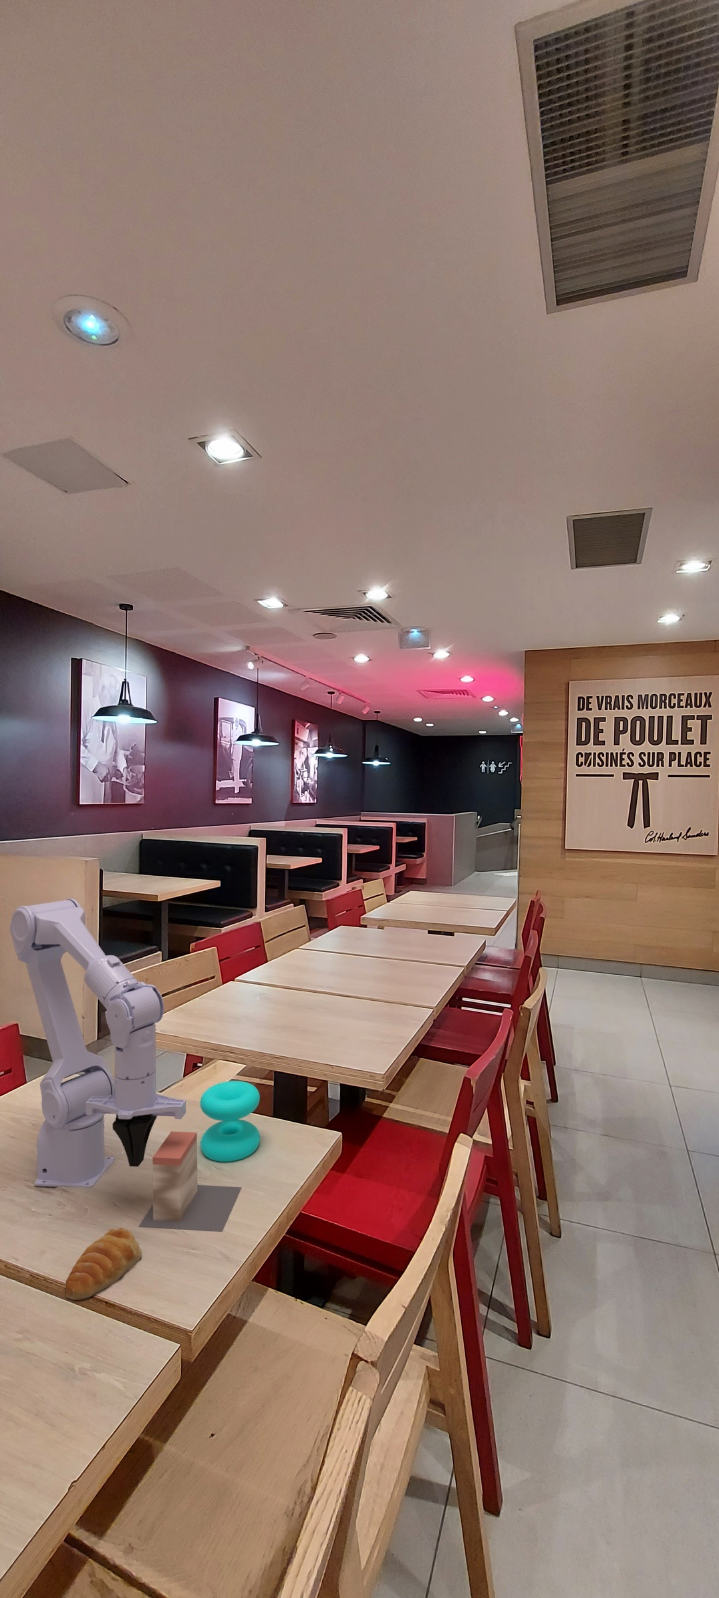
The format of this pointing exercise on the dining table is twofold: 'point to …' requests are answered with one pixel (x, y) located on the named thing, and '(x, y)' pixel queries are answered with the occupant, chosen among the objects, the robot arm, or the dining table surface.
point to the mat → (201, 1210)
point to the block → (174, 1176)
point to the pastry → (103, 1264)
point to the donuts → (230, 1121)
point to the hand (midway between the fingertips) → (136, 1163)
